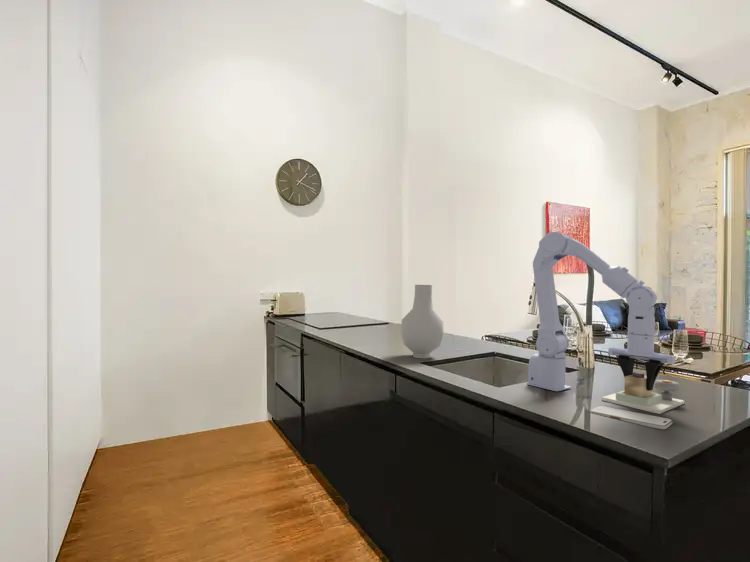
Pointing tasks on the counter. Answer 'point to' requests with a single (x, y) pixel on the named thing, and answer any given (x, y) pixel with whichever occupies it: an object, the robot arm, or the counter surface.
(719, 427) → the counter surface
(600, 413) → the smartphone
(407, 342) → the vase
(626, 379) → the tan wooden block
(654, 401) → the chassis
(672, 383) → the grey rounded cap
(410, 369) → the counter surface
